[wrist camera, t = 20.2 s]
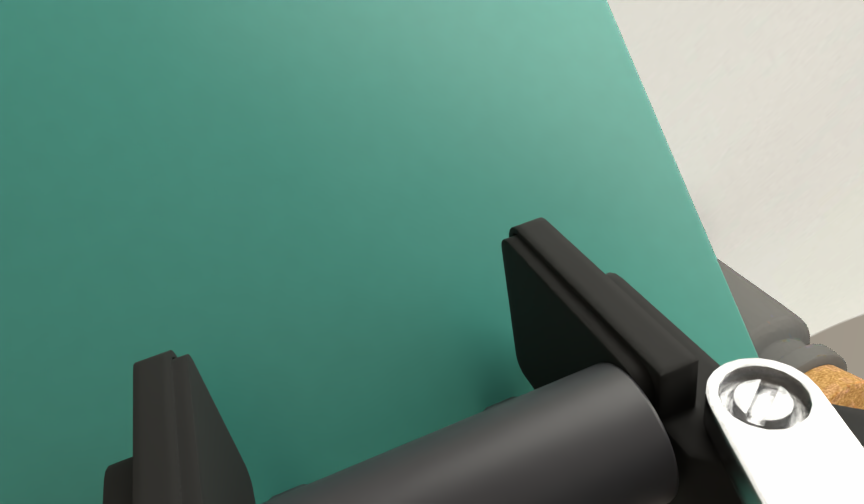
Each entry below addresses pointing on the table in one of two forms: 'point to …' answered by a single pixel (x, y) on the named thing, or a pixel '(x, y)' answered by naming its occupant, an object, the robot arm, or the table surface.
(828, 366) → the bottle
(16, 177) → the lunchbox lid
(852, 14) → the table surface
